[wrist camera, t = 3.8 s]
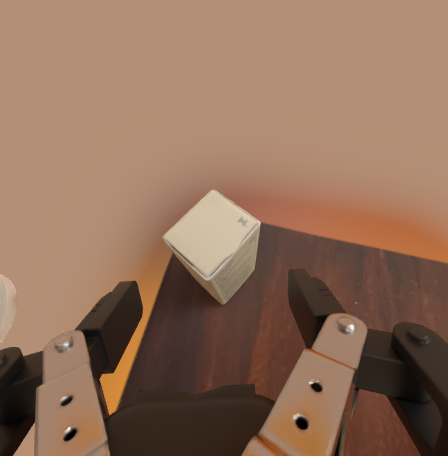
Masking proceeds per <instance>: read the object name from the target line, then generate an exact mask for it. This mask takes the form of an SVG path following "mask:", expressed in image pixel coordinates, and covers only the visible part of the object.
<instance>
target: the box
mask: <svg viewBox="0 0 448 456" xmlns="http://www.w3.org/2000/svg"><path fill="white" fill-rule="evenodd" d="M259 230H260V221H258V220H257V219H255V218H254V217H253V216H251V215H250V214H249V213H247V212H246V211H245V210H243V209H242V208H240V207H239V206H238V205H236V204H235V203H234V202H232V201H230V200H229V199H228V198H226V197H225V196H223V195H222V194H220V193H219V192H217V191H216V190H211V191H210V192H209V193H208V194H206V195H205V196H204V197H203V198H202V199H201V200H200V201H199V202H198V203H197V204H196V205H195V206H194V207H192V208H191V209H190V210H189V211H188V212H187V213H186V214H185V215H184V216H183V217H182V218H181V219H180V220H179V221H178V222H177V223H176V224H175V225H174V226H173V227H172V228H171V229H170V230H169V231H168V232H167V233H166V234H165V235H164V236H163V237H162V239H163V240H164V241H165V243H166V244H167V246H168V247H169V248H170V249H171V250H172V252H173V253H174V254H175V255H176V256H177V258H178V259H179V260H180V261H181V262H182V264H183V265H184V266H185V267H186V268H187V270H188V271H189V272H190V273H191V275H192V276H193V277H194V278H195V279H196V280H197V281H198V282H199V283H200V284H201V285H202V286H203V287H204V288H205V289H206V290H207V291H208V292H209V293H210V294H211V295H212V296H213V297H214V298H215V299H216V300H217V301H218V302H219V303H221V304H222V305H224V304H226V302H227V301H228V300H229V299H230V298H231V297H232V296H233V295H234V294H235V292H236V291H237V290H238V289H239V288H240V287H241V285H242V284H243V283H244V282H245V281H246V279H247V278H248V277H249V276H250V274H251V273H252V272H253V271H254V269H255V261H256V254H257V246H258V238H259Z"/></svg>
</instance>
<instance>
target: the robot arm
mask: <svg viewBox="0 0 448 456" xmlns="http://www.w3.org/2000/svg"><path fill="white" fill-rule="evenodd" d="M288 295H289V304H290V308H291V310H292V313H293V315H294V318H295V320H296V323H297V325H298V328H299V330H300V333H301V335H302V338H303V340H304V343H305V345H306V348H305V349H304V351H303V352H302V354H301V356H300V358H299V360H298V362H297V364H296V366H295V367H294V369H293V371H292V373H291V375H290V377H289V379H288V380H287V382H286V384H285V386H284V388H283V390H282V392H281V394H280V395H279V397H278V399H277V401H276V402H275V401H273V400H271V399H269V398H267V397H264V396H261V395H256V394H255V385H254V384H246V385H228V386H223V387H220V388H217V389H213V390H210V391H207V392H204V393H201V394H197V395H193V394H188V393H184V392H179V391H175V390H170V389H157V390H140V391H139V394H138V397H137V400H136V402H133V403H131V404H128V405H126V406H124V407H122V408H120V409H119V410H117V411H116V412H114V413H112V414H111V415H110V416H109V413H108V409H107V405H106V401H105V398H104V394H103V390H102V386H101V383H100V380H99V379H100V377H101V375H102V374H108V373H114V371H115V369H116V367H117V365H118V363H119V361H120V359H121V357H122V355H123V353H124V351H125V349H126V347H127V345H128V343H129V341H130V339H131V337H132V335H133V333H134V332H135V330H136V328H137V326H138V323H139V322H140V320H141V317H142V313H143V306H142V301H141V297H140V293H139V289H138V285H137V282H136V281H126V282H120V283H119V284H118V285H117V286H116V287H115V289H114V290H113V291H112V292H109V293H108V294H106V295H105V296H104V297H102V298H101V299H100V300H99V302H98V303H97V304H96V305H95V307H93V309H92V310H91V312H89V313H88V315H87V316H86V317H85V318H84V319H83V320H82V322H81V323H80V324H79V325H78V326H77V328H76V329H75V330H74V331H69V332H66V333H63V334H61V335H59V336H57V337H56V338H54V339H53V340H51V341H50V342H49V343H48V344H47V345H46V346H45V348H44V350H43V351H40V352H37V353H33V354H30V355H27V356H23V354H22V352H21V350H20V348H18V347H10V348H6V349H3V350H0V456H13V455H14V453H15V452H16V450H17V449H18V447H19V446H20V444H21V442H22V441H23V439H24V438H25V436H26V435H27V433H28V432H29V430H30V429H31V427H32V426H33V424H34V422H35V446H34V447H35V448H34V456H345V455H346V449H347V444H348V438H349V433H350V429H351V424H352V420H353V416H354V412H355V408H356V403H357V399H358V395H359V391H360V389H363V390H368V391H372V392H376V393H380V394H384V395H386V396H387V397H388V399H389V401H390V403H391V404H392V406H393V408H394V409H395V411H396V413H397V415H398V416H399V418H400V420H401V422H402V423H403V425H404V427H405V428H406V430H407V432H408V434H409V435H410V437H411V439H412V440H413V442H414V444H415V446H416V447H417V449H418V451H419V452H420V454H421V456H448V344H447V343H446V342H445V341H444V340H443V339H442V338H441V337H440V336H439V335H437V334H436V333H435V332H433V331H432V330H430V329H428V328H426V327H424V326H421V325H418V324H414V323H406V322H404V323H398V324H396V325H395V326H394V327H393V333H390V332H384V331H378V330H372V329H369V328H367V327H366V325H365V324H364V323H363V322H362V321H361V320H360V319H359V318H357V317H355V316H353V315H350V314H347V313H346V312H345V310H344V309H343V308H342V306H341V305H340V304H339V302H338V301H337V299H336V298H335V297H334V296H333V294H332V293H331V291H330V290H329V288H328V287H327V286H326V284H325V283H324V282H322V281H321V280H319V279H318V278H316V277H315V278H310V277H309V275H308V274H307V272H306V270H305V269H291V270H289V273H288Z"/></svg>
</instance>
